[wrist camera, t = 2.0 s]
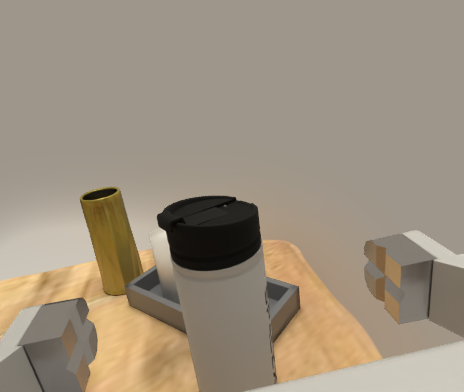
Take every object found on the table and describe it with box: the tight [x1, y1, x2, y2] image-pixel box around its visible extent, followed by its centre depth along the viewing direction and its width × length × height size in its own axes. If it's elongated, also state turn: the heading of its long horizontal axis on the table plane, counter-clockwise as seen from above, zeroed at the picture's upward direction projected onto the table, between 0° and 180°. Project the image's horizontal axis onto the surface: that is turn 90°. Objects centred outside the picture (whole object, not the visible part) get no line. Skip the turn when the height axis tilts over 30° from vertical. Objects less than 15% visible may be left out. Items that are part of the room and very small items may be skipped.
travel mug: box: [157, 196, 277, 392], centre depth 25 cm, size 6×7×20 cm
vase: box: [80, 187, 144, 295], centre depth 48 cm, size 6×6×14 cm
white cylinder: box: [149, 227, 180, 304], centre depth 44 cm, size 5×5×9 cm
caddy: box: [124, 265, 300, 343], centre depth 43 cm, size 20×10×3 cm, turn 53°
